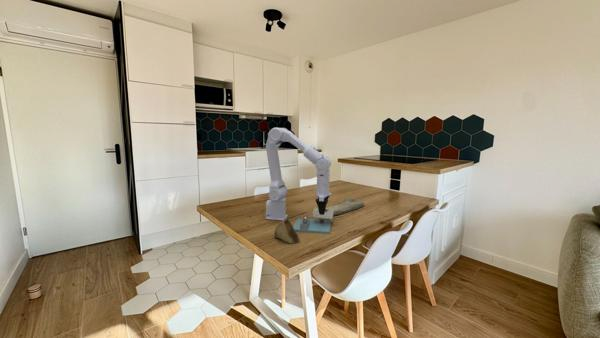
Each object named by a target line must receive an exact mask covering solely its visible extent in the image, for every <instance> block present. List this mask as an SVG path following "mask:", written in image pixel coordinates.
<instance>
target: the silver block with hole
mask: <svg viewBox="0 0 600 338" xmlns="http://www.w3.org/2000/svg"><path fill="white" fill-rule="evenodd" d="M326 208H327V207H326ZM326 208H325V213H324V215H320V214H319V209H318V206H317V207H316V206H314V208H313V210H312V211H313V212H312V218H318V219H320V218H324V220H326V219H327V220H331V221H332V220H333V219H334V218H333V217H334V216H333V210H334V209H326Z"/></svg>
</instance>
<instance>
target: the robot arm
mask: <svg viewBox="0 0 600 338" xmlns="http://www.w3.org/2000/svg"><path fill="white" fill-rule="evenodd" d="M284 142H286V143H287V142H288V143H290V144H291V145H293V146H294V147H296V148H297V149H299V151H301V152H302V153H303V157H304V158H306V159H307V161H309V162H311V164H313V165H314V166H315V168H316V170H317V171H316V192H315V194H316V195H315V196H317V198H315V203H316V205H317V207H318V209H319V214H320V215H324V213H325V208H327V204H328V202H329V198H330V196H332V192H330V167H331V165H332V160H331V159H330V158H329V157H328V156H325V154H323V153H320V152H319V151H318V150H317V147H315V146H308V145H307V144H305V142H303V141H302V140H301V139H300V138H298V136H297V135H296V134H294V133H293V132H292V131H290V130H288V129H287V128H286V127H273V128H271V129H270V130H269V132H268V133H267V140H266V143H265V150H266V156H267V162H268V169H269V176H270V181H271V182H270V184H269V189H268V190H269V192H268V198H269V199H267V201H266V203H265V220H269V221H270V220H273V221H283V220H284V218H288V215H289V214H286V213H287V210H286V209H287V208H286V206H287V205H286V203H287V201H286V200H287V198H286V196H287V195H288V191H289V190H288V187H287V185H286V183H285V181H284V180H283V176H282V170H281V164H280V157H279V151H278V148H279V147H280V146H281V145H282V143H284Z"/></svg>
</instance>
